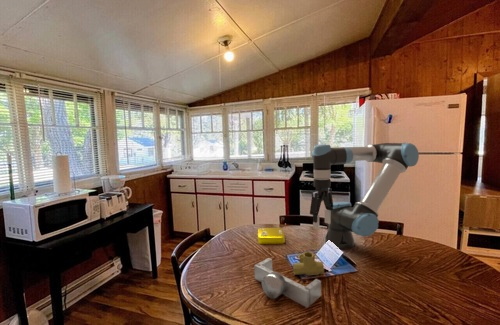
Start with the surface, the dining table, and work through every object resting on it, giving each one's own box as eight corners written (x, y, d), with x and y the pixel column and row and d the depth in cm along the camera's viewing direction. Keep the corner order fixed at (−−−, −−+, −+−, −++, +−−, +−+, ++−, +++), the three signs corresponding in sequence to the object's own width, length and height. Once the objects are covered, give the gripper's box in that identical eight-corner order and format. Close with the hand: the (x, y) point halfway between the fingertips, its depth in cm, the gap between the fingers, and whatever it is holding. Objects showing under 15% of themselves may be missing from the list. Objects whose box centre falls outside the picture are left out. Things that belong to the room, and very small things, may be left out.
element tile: (285, 244, 139) (284, 236, 138) (258, 245, 139) (258, 236, 139) (282, 234, 154) (282, 226, 153) (258, 234, 154) (257, 227, 154)
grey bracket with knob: (269, 270, 111) (268, 253, 110) (320, 296, 92) (320, 275, 91) (246, 283, 102) (245, 265, 101) (298, 315, 83) (298, 292, 82)
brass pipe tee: (324, 279, 105) (319, 264, 114) (324, 257, 102) (318, 244, 112) (294, 280, 106) (292, 265, 115) (293, 259, 103) (290, 245, 113)
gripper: (326, 174, 124) (326, 218, 126) (301, 181, 109) (301, 230, 111) (341, 176, 118) (341, 221, 120) (316, 182, 103) (316, 234, 105)
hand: (322, 226), depth 116 cm, fingers open, 9 cm apart
